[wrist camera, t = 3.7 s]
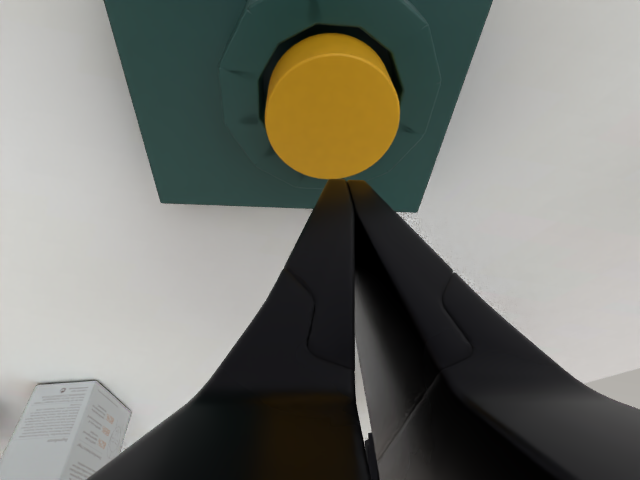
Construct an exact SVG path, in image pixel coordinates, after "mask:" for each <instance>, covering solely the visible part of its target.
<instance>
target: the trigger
mask: <svg viewBox="0 0 640 480" xmlns="http://www.w3.org/2000/svg"><path fill="white" fill-rule="evenodd" d="M399 120H400V105H399V100H398V96H397V93H396V90H395V88H394V86H393V83H392V81H391V79H390V76H389V74H388V72H387V70H386V67H385V65H384V63H383V62H382V60H381V58H380V57H379V56H378V54H377V53H376V52H375V51H374V50H373V49H372V48H371V47H370V46H369V45H367V44H366V43H364V42H363V41H361V40H359V39H357V38H355V37H352V36H349V35H346V34H340V33H323V34H317V35H313V36H310V37H308V38H305V39H303V40H301V41H299V42H298V43H296V44H295V45H293V46H292V47H291V48H290V49H288V50H287V51H286V52H285V53H284V55H283V56H282V57H281V58H280V60H279V61H278V62H277V64H276V66H275V68H274V70H273V72H272V75H271V78H270V81H269V86H268V93H267V101H266V108H265V128H266V132H267V136H268V139H269V141H270V144H271V146H272V147H273V149H274V151H275V152H276V153H277V155H278V156H279V157H280V158H281V159H282V160H283V161H284V162H285V163H286V164H287V165H288V166H290V167H291V168H292V169H294V170H296V171H297V172H300V173H302V174H304V175H307V176H310V177H314V178H319V179H340V178H345V177H349V176H352V175H355V174H358V173H360V172H362V171H364V170H366V169H367V168H369V167H371V166H372V165H373V164H375V163H376V162H377V161H378V160H379V159H380V158H381V157H382V156H383V155H384V154H385V153H386V151H387V150H388V149H389V147H390V145H391V144H392V142H393V140H394V138H395V136H396V133H397V130H398V126H399Z"/></svg>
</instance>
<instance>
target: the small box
mask: <svg viewBox="0 0 640 480" xmlns="http://www.w3.org/2000/svg"><path fill="white" fill-rule="evenodd" d="M130 416H131V411H130V410H129V409H127V408H126V407H125V406H124V405H123V404H122V403H121V402H120V401H119V400H117V399H116V398H115V397H114V396H113V395H112V394H111V393H110V392H109V391H107V390H106V389H105V388H104V387H103V386H102V385H101V384H99V383H98V382H97V381H85V382H72V383H58V384H43V385H37V386H36V387H35V389H34V391H33V393H32V395H31V397H30V399H29V401H28V403H27V405H26V407H25V409H24V412H23V414H22V416H21V418H20V420H19V422H18V424H17V426H16V428H15V430H14V432H13V434H12V436H11V439H10V441H9V443H8V445H7V447H6V449H5V451H4V453H3V455H2V457H1V459H0V480H86V479H87V478H88V477H90V476H91V475H92V474H94V473H95V472H96V471H98V470H99V469H100V468H102V467H103V466H104V465H106V464H107V463H108V462H110V461H111V460H112V459H114V458H115V457H116V456H118V455H119V454H120V450H121V447H122V443H123V440H124V437H125V433H126V430H127V426H128V423H129V419H130Z"/></svg>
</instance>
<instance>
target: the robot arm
mask: <svg viewBox="0 0 640 480" xmlns="http://www.w3.org/2000/svg"><path fill="white" fill-rule="evenodd" d="M355 338H356V344H357V350H358V355H359V361H360V367H361V373H362V378H363V384H364V390H365V395H366V401H367V407H368V413H369V418H370V424H371V430H372V433H368V438H369V439H368V440H366V441H365V446H364V441H363V436H362V431H361V426H360V421H359V416H358V411H357V405H356V396H355V373H354V371H355ZM365 449H366V450H365ZM86 480H640V409H637V408H635V407H632V406H629V405H626V404H623V403H621V402H618V401H615V400H613V399H611V398H608V397H606V396H604V395H602V394H600V393H598V392H596V391H594V390H593V389H591V388H589V387H587V386H586V385H584V384H583V383H581V382H580V381H578V380H577V379H575V378H574V377H573V376H571V375H570V374H569V373H568V372H566V371H565V370H564V369H563V368H561V367H560V366H559V365H558V364H557V363H556V362H554V361H553V360H552V359H551V358H550V357H549V356H547V355H546V354H545V353H544V352H543V351H541V350H540V349H539V348H538V347H537V346H536V345H534V344H533V343H532V342H531V341H530V340H528V339H527V338H526V337H525V336H524V335H523V334H521V333H520V332H519V331H518V330H517V329H516V328H514V327H513V326H512V325H511V324H510V323H508V322H507V321H506V320H505V319H504V318H503V317H502V316H501V315H499V314H498V313H497V312H496V311H495V310H494V309H493V308H491V307H490V306H489V305H488V304H487V303H486V302H485V301H484V300H483V299H482V298H481V297H480V296H479V295H478V294H477V293H475V292H474V291H473V290H472V289H471V288H470V287H469V286H468V285H467V284H466V283H465V282H464V281H463V280H462V279H461V278H460V277H459V276H458V275H457V274H456V273H453V270H452V269H451V268H450V267H449V266H448V265H447V264H446V263H445V262H444V261H443V260H442V259H441V258H440V257H439V256H438V254H437V253H436V252H435V251H434V250H433V249H432V248H431V247H430V246H429V245H428V244H427V243H426V242H425V241H424V240H423V239H422V238H421V237H420V236H419V235H418V234H417V233H416V232H415V231H414V230H413V229H412V228H411V227H410V226H409V225H408V224H407V223H406V222H405V221H404V220H403V219H402V218H401V217H400V216H399V215H398V214H397V213H396V212H395V211H394V210H393V209H392V208H391V207H390V206H389V205H388V204H387V203H386V202H385V201H384V200H383V199H382V198H381V197H380V196H379V195H378V194H377V192H376V191H375V190H374V189H373V188H372V187H371V186H370V185H369V184H368V183H367V182H366V181H364V180H348V181H347V182H346V180H344V179H329V180H328V181H327V183H326V185H325V187H324V189H323V191H322V193H321V195H320V197H319V199H318V201H317V203H316V205H315V207H314V209H313V211H312V213H311V215H310V217H309V219H308V221H307V223H306V225H305V227H304V229H303V231H302V233H301V235H300V237H299V239H298V241H297V243H296V245H295V247H294V248H293V250H292V252H291V254H290V256H289V258H288V260H287V262H286V264H285V266H284V269H283V270H282V272H281V274H280V276H279V278H278V280H277V282H276V283H275V285H274V287H273V289H272V290H271V292H270V294H269V296H268V298H267V299H266V301H265V302H264V304H263V305H262V307H261V308H260V310H259V311H258V313H257V314H256V316H255V317H254V319H253V320H252V322H251V323H250V325H249V326H248V327H247V329H246V330H245V331H244V333H243V334H242V336H241V337H240V338H239V340H238V341H237V343H236V344H235V345H234V347H233V348H232V349H231V351H230V352H229V354H228V355H227V356H226V358H225V359H224V361H223V362H222V363H221V365H220V366H219V367H218V369H217V370H216V372H215V373H214V374H213V375H212V377H211V378H210V379H209V381H208V382H207V383H206V384H205V385H204V387H203V388H202V389H201V390H200V391H199V392H198V393H197V394H196V395H195V396H194V397H193V398H192V399H191V400H190V401H189V402H188V403H187V404H185V405H184V406H183V407H182V408H180V409H179V410H178V411H176V412H175V413H174V414H172V415H171V416H170V417H168V418H167V419H166V420H164V421H163V422H162V423H160V424H159V425H158V426H156V427H155V428H154V429H152V430H151V431H150V432H148V433H147V434H146V435H144V436H143V437H142V438H140V439H139V440H138V441H136V442H135V443H134V444H132V445H131V446H130V447H128V448H127V449H126V450H124V451H123V452H122V453H120V454H119V455H118V456H116V457H115V458H114V459H112V460H111V461H110V462H108V463H107V464H106V465H104V466H103V467H102V468H100V469H99V470H98V471H96V472H95V473H94V474H92V475H91V476H90V477H88V478H87V479H86Z"/></svg>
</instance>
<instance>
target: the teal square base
mask: <svg viewBox="0 0 640 480" xmlns="http://www.w3.org/2000/svg"><path fill="white" fill-rule="evenodd" d="M492 1H493V0H104V3H105V7H106V10H107V14H108V17H109V21H110V24H111V28H112V32H113V35H114V39H115V42H116V46H117V49H118V53H119V56H120V60H121V64H122V67H123V71H124V74H125V78H126V81H127V85H128V88H129V92H130V95H131V99H132V103H133V106H134V110H135V113H136V117H137V120H138V124H139V127H140V131H141V135H142V138H143V142H144V145H145V149H146V152H147V156H148V159H149V163H150V167H151V170H152V174H153V177H154V181H155V184H156V188H157V191H158V195H159V198H160V202H161V203H169V204H196V205H224V206H251V207H278V208H305V209H314V207H315V205H316V203H317V201H318V199H319V197H320V195H321V193H322V191H323V189H324V187H325V185H326V183H327V181H328V180H329V179H319V178H314V177H310V176H307V175H304V174H302V173H300V172H297V171H296V170H294V169H292V168H291V167H290V166H288V165H287V164H286V163H285V162H284V161H283V160H282V159H281V158H280V157H279V156H278V155H277V153H276V152H275V151H274V149H273V147H272V146H271V144H270V141H269V139H268V136H267V132H266V128H265V108H266V101H267V93H268V86H269V81H270V78H271V75H272V72H273V70H274V68H275V66H276V64H277V62H278V61H279V60H280V58H281V57H282V56H283V55H284V53H285V52H286V51H287V50H288V49H290V48H291V47H292V46H293V45H295V44H296V43H298V42H299V41H301V40H303V39H305V38H308V37H310V36H313V35H317V34H323V33H340V34H346V35H349V36H352V37H355V38H357V39H359V40H361V41H363V42H364V43H366V44H367V45H369V46H370V47H371V48H372V49H373V50H374V51H375V52H376V53H377V54H378V56H379V57H380V58H381V60H382V62H383V63H384V65H385V67H386V70H387V72H388V74H389V76H390V79H391V81H392V83H393V86H394V88H395V90H396V93H397V96H398V100H399V105H400V120H399V126H398V130H397V133H396V136H395V138H394V140H393V142H392V144H391V145H390V147H389V149H388V150H387V151H386V153H385V154H384V155H383V156H382V157H381V158H380V159H379V160H378V161H377V162H376V163H375V164H373V165H372V166H371V167H369V168H367V169H366V170H364V171H362V172H360V173H358V174H355V175H352V176H349V177H345V178H340V179H344V180H346V182H347V181H348V180H364V181H366V182H367V183H368V184H369V185H370V186H371V187H372V188H373V189H374V190H375V191H376V192H377V194H378V195H379V196H380V197H381V198H382V199H383V200H384V201H385V202H386V203H387V204H388V205H389V206H390V207H391V208H392V209H393V210H394V211H395V212H414V213H416V212H418V209H419V206H420V203H421V201H422V198H423V195H424V192H425V189H426V187H427V184H428V181H429V178H430V175H431V172H432V170H433V167H434V164H435V161H436V158H437V156H438V153H439V150H440V147H441V144H442V142H443V139H444V136H445V133H446V130H447V128H448V125H449V122H450V119H451V116H452V114H453V111H454V108H455V105H456V102H457V100H458V97H459V94H460V91H461V88H462V85H463V83H464V80H465V77H466V74H467V71H468V69H469V66H470V63H471V60H472V57H473V55H474V52H475V49H476V46H477V43H478V41H479V38H480V35H481V32H482V29H483V27H484V24H485V21H486V18H487V15H488V13H489V10H490V7H491V4H492Z"/></svg>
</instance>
